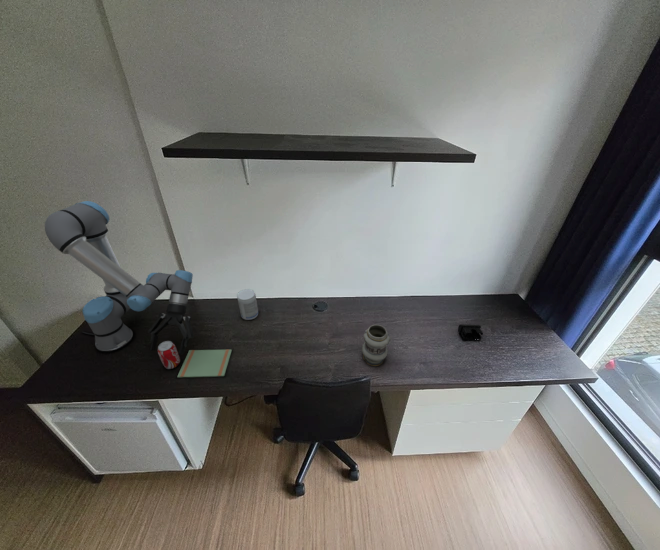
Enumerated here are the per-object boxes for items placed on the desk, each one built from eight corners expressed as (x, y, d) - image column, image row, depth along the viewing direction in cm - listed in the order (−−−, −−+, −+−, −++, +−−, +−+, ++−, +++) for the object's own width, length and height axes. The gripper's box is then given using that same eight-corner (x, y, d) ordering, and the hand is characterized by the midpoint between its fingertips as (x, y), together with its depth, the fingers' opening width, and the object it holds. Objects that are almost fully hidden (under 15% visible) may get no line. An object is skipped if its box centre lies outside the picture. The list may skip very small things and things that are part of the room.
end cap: (474, 331, 156) (478, 322, 152) (480, 341, 150) (484, 331, 146) (456, 331, 155) (459, 321, 152) (461, 341, 150) (465, 331, 146)
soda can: (176, 370, 129) (169, 352, 123) (161, 370, 129) (152, 351, 123) (183, 358, 135) (177, 339, 128) (168, 357, 135) (161, 339, 128)
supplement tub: (261, 311, 164) (258, 290, 156) (253, 322, 156) (250, 301, 148) (246, 308, 166) (242, 287, 158) (237, 318, 158) (233, 297, 150)
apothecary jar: (355, 355, 140) (358, 328, 130) (373, 344, 146) (378, 317, 136) (372, 372, 132) (377, 344, 122) (391, 360, 138) (397, 333, 128)
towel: (177, 377, 126) (177, 376, 126) (189, 351, 139) (189, 350, 138) (224, 376, 127) (223, 375, 127) (232, 350, 140) (231, 349, 140)
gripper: (207, 308, 134) (198, 355, 130) (157, 302, 137) (146, 348, 132) (199, 306, 127) (189, 356, 123) (146, 300, 129) (134, 348, 125)
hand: (166, 352), depth 128 cm, fingers open, 13 cm apart
